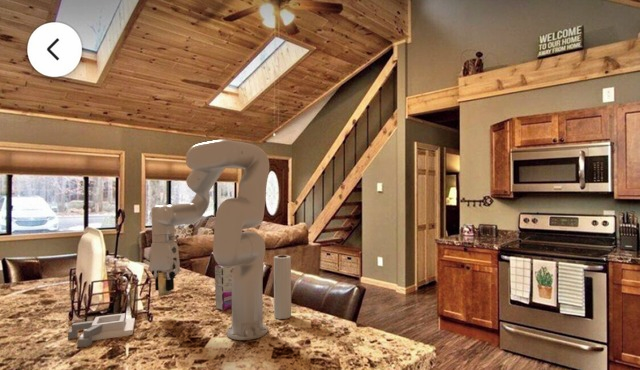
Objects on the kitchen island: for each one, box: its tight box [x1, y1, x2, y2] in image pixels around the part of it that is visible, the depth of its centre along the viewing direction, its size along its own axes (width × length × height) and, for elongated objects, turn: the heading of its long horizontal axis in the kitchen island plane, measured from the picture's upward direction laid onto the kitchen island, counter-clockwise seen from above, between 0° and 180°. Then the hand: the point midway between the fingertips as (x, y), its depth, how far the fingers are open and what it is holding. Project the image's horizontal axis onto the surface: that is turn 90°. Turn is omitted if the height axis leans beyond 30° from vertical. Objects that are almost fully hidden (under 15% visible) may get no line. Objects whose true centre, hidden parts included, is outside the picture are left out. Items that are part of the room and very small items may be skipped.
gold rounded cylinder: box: [156, 271, 172, 297], centre depth 133 cm, size 5×5×8 cm
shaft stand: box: [67, 312, 136, 348], centre depth 114 cm, size 17×18×4 cm
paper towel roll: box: [273, 254, 292, 320], centre depth 130 cm, size 7×6×21 cm
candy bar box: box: [214, 264, 234, 311], centre depth 142 cm, size 11×5×16 cm, turn 143°
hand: (164, 289), depth 132 cm, fingers closed on gold rounded cylinder, 4 cm apart
